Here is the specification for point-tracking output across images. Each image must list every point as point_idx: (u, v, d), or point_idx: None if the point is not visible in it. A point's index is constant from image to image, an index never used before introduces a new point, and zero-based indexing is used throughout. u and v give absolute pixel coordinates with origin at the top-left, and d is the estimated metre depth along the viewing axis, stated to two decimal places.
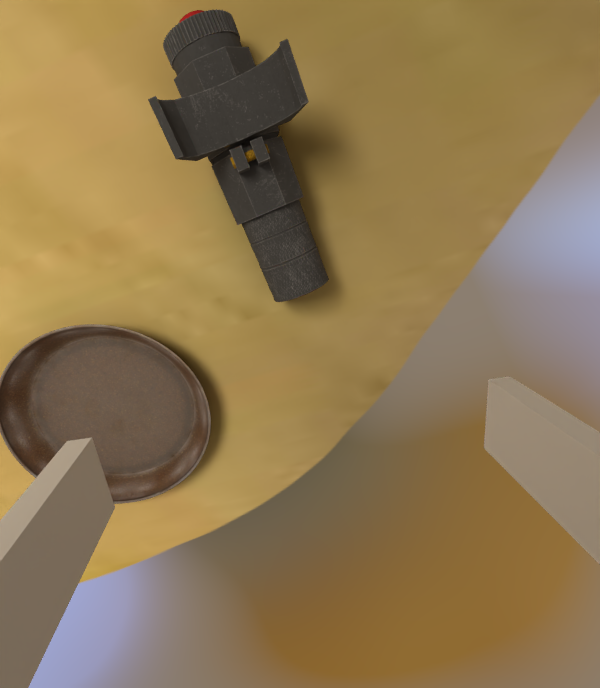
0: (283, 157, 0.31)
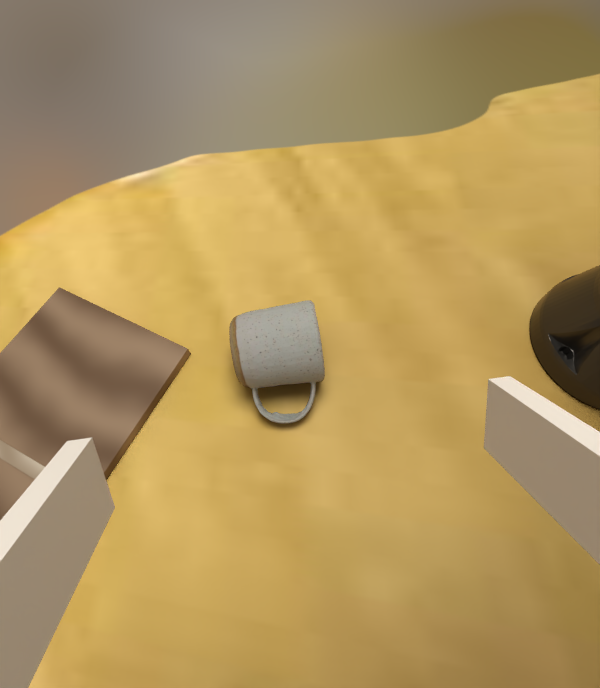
0: None
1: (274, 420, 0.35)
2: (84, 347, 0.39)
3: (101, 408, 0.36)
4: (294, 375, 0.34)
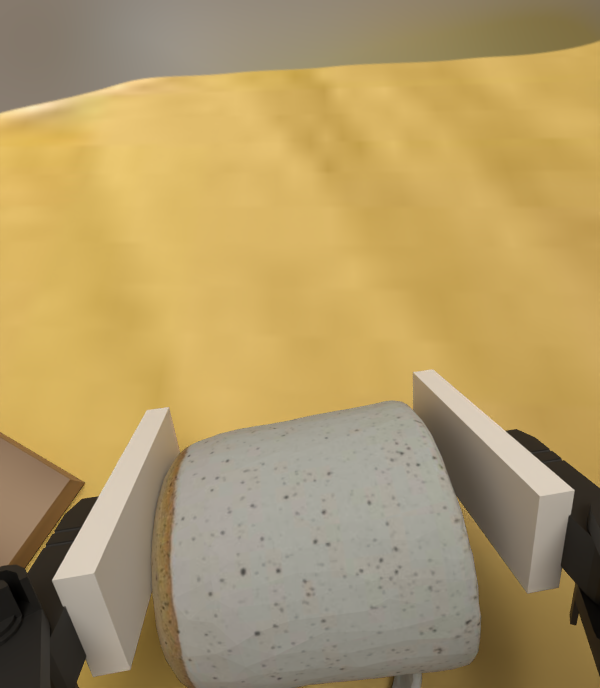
0: None
1: None
2: None
3: None
4: (371, 677, 0.10)
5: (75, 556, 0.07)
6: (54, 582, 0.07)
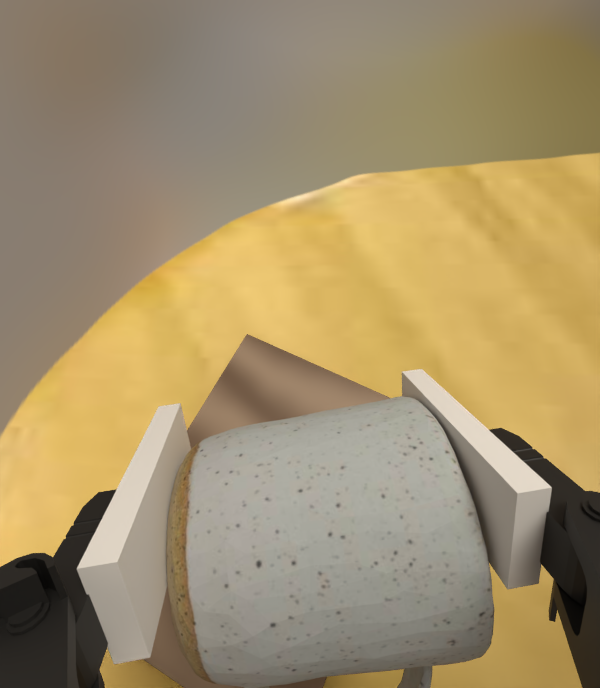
0: None
1: None
2: (295, 410, 0.32)
3: None
4: (384, 670, 0.10)
5: (98, 545, 0.08)
6: (79, 570, 0.07)
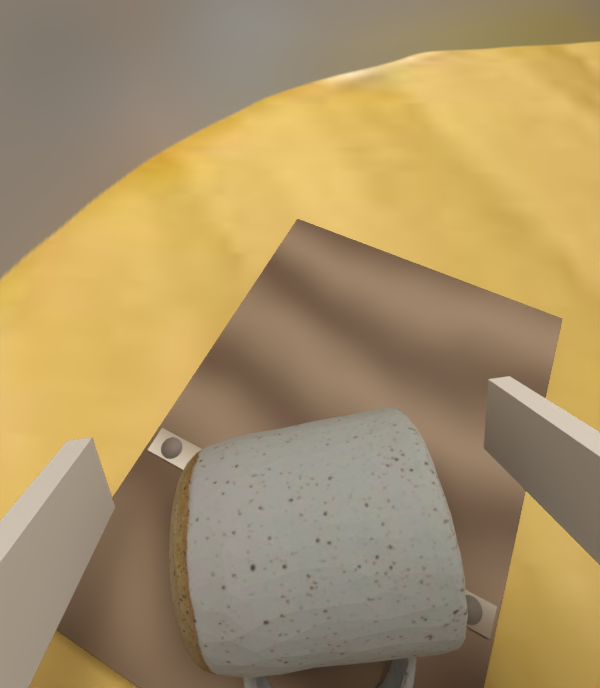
0: None
1: None
2: (376, 315, 0.22)
3: (451, 425, 0.19)
4: (369, 661, 0.11)
5: None
6: None
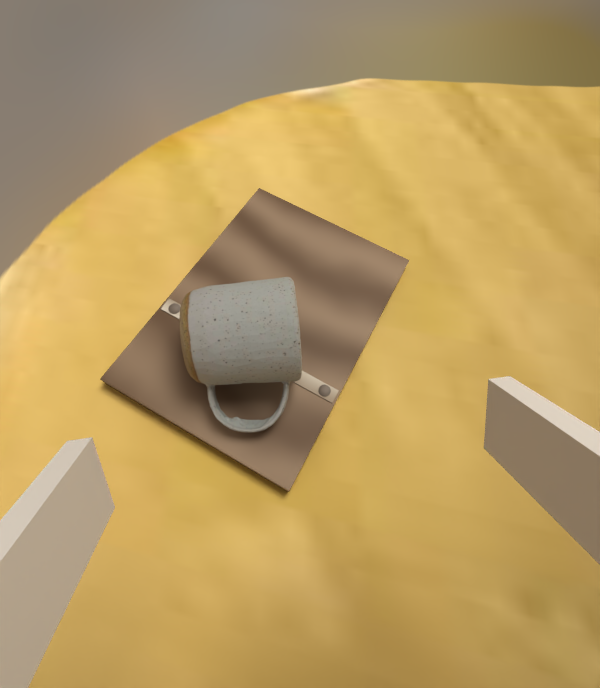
0: None
1: (233, 428, 0.28)
2: (300, 249, 0.36)
3: (333, 310, 0.34)
4: (262, 372, 0.26)
5: None
6: None
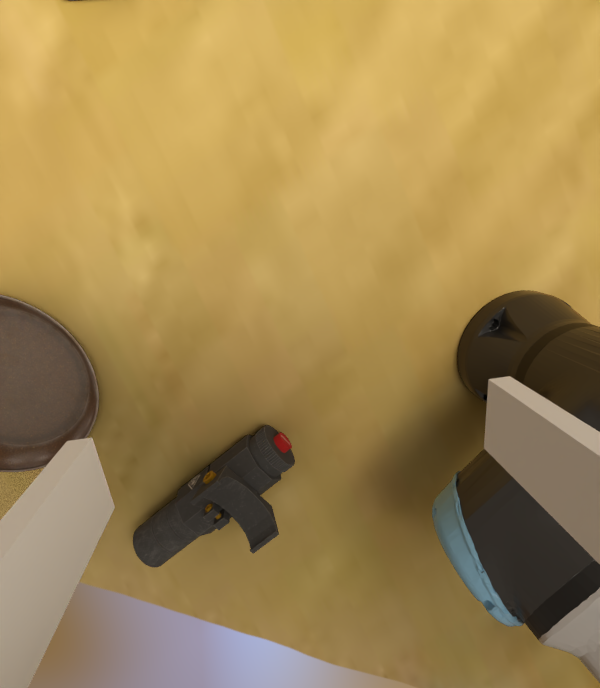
0: None
1: None
2: None
3: None
4: None
5: None
6: None
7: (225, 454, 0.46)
